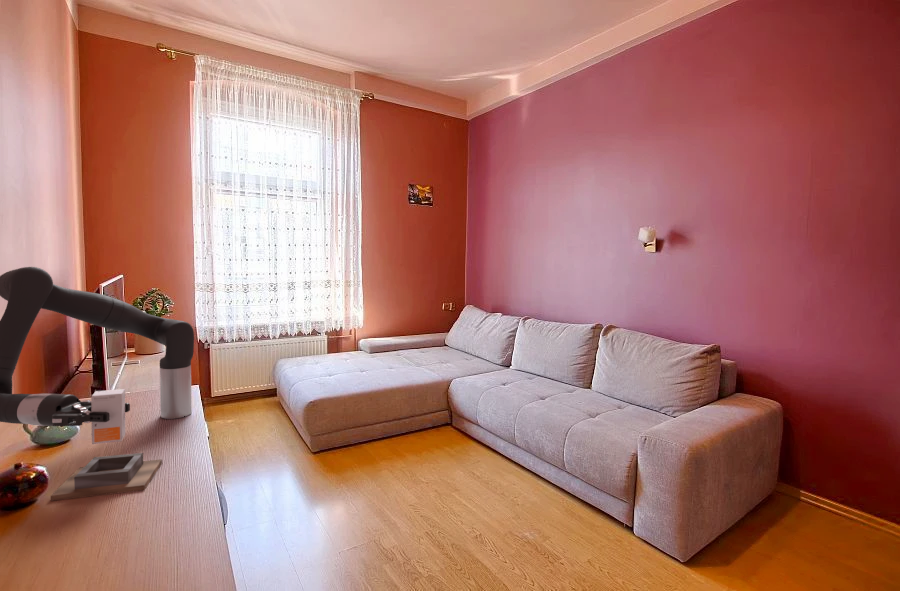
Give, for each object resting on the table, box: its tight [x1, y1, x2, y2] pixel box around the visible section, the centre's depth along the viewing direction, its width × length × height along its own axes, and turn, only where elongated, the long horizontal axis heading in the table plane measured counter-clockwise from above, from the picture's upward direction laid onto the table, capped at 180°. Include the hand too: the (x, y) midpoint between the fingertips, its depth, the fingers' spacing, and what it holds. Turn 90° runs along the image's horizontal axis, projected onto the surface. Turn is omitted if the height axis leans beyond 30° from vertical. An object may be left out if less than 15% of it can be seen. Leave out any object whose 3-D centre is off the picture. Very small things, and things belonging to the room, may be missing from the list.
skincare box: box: [90, 388, 126, 445], centre depth 107 cm, size 6×4×12 cm
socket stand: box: [50, 452, 163, 502], centre depth 108 cm, size 14×18×4 cm
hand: (118, 412), depth 107 cm, fingers closed on skincare box, 6 cm apart
